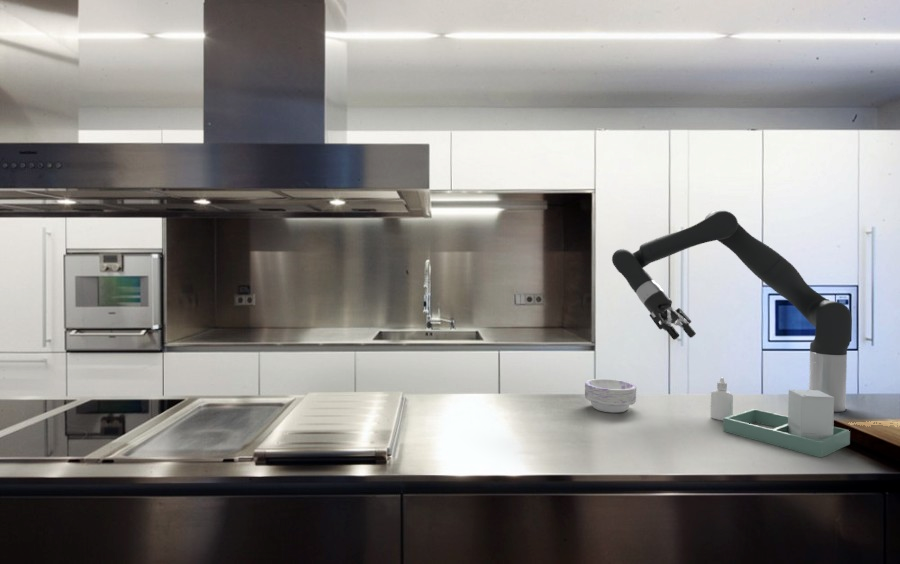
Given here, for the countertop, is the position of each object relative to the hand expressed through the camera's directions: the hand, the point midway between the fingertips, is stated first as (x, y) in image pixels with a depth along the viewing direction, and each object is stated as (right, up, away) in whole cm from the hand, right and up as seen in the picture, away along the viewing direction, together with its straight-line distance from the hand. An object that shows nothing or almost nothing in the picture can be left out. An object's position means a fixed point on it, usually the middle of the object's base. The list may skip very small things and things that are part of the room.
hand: (685, 336), depth 160 cm
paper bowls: (-23, -23, +1) cm, 32 cm away
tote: (+14, -23, -26) cm, 37 cm away
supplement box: (+17, -23, -31) cm, 42 cm away
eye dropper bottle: (+6, -23, -10) cm, 26 cm away
